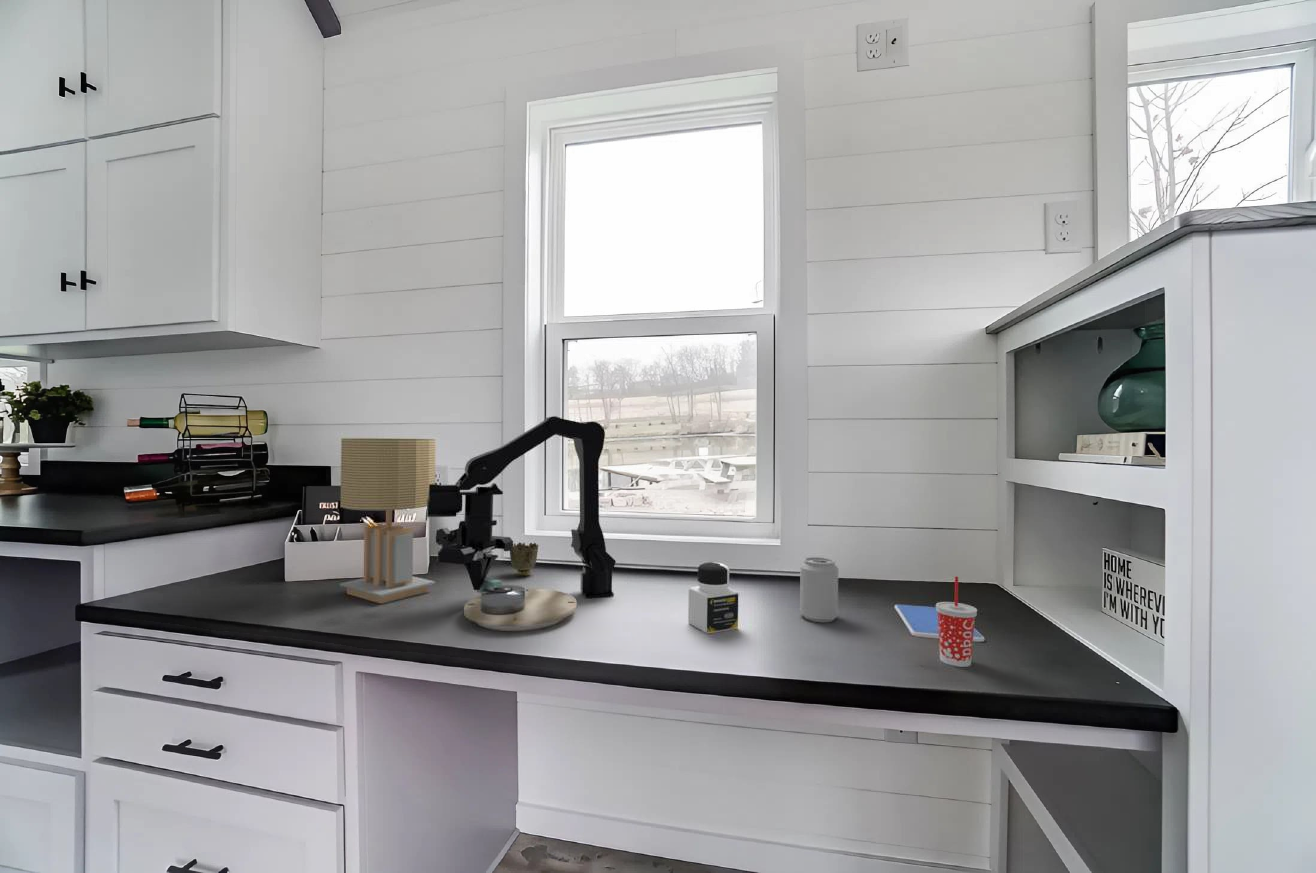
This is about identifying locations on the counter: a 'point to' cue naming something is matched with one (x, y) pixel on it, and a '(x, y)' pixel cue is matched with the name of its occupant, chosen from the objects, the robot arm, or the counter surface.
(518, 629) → the turntable base
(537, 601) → the turntable
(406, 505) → the desk lamp
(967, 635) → the beverage cup
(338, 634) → the counter surface
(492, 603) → the iron cover
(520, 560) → the cup
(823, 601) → the can
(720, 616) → the medicine bottle
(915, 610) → the tablet computer
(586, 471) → the robot arm
